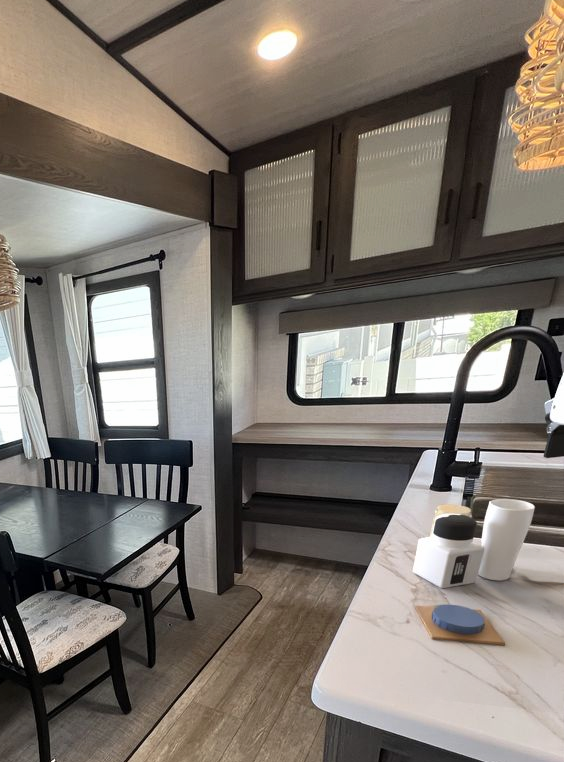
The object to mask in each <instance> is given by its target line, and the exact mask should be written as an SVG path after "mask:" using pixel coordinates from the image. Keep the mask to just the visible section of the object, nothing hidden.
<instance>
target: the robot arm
mask: <svg viewBox="0 0 564 762" xmlns="http://www.w3.org/2000/svg"><path fill="white" fill-rule="evenodd" d="M543 407H544V414H545V416H544V420H545V423H546V425H547V427H546V432H547V434H548V436H547V440H546V444H545V449H544V452H543V458H544V459H552V458H561V457H564V373H562V376H561V379H560V381H559V384H558V387H557V390H556V393H555V395H554V397H553V398H552V399H549V400H547V401H545V402H544V404H543Z"/></svg>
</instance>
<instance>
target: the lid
mask: <svg viewBox="0 0 564 762" xmlns="http://www.w3.org/2000/svg"><path fill="white" fill-rule="evenodd" d="M434 607H435V608H434V611H433V613H432V620H433V622H434V623H435V624H436V625H438V626H439V627H441V628H443V629H445V630H448V631H451V632H454V633H459V634H477V633H479V632H481V631H482V630H483V629H484V625H485V624H484V623H485V619H484V617H483V616H482V615H481V614H480V613H478V612H476V611H474V610H472V609H473V608H469V607H466V606H463V605H459V604H441V605H440V604H439V605H437V606H434Z"/></svg>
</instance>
